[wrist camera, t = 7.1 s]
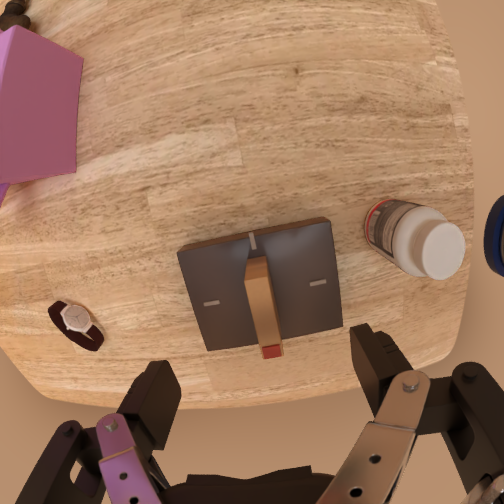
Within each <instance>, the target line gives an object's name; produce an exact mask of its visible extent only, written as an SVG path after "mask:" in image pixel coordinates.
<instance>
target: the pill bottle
mask: <svg viewBox="0 0 504 504" xmlns="http://www.w3.org/2000/svg"><path fill="white" fill-rule="evenodd" d="M364 228H365V236H366V239H367V241H368V243H369V245H370V246H371V247H372V248H373V249H374V250H375V251H376V252H378V253H379V254H381V255H382V256H384V257H385V258H386V259H388V260H389V261H391V262H392V263H394V264H395V265H396V266H398V267H399V268H400V269H401V270H403V271H404V272H406V273H408V274H410V275H412V276H416V277H425V276H428V277H430V278H432V279H435V280H445V279H447V278H449V277H451V276H452V275H453V274H454V273H455V272H456V271H457V270H458V269H459V267H460V265H461V263H462V261H463V258H464V255H465V239H464V236H463V233H462V231H461V230H460V229H459V227H457V226H456V225H455V224H453V223H450V222H448V221H447V220H446V218H445V217H444V216H443V215H442V214H441V213H440V212H439V211H437V210H436V209H434V208H431V207H428V206H424V205H419V204H415V203H410V202H406V201H401V200H396V199H385V200H382V201H380V202H378V203H376V204H375V205H374V206H373V207H372V208H371V210H370V211H369V212H368V214H367V217H366V220H365V227H364Z"/></svg>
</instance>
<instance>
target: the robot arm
mask: <svg viewBox="0 0 504 504" xmlns="http://www.w3.org/2000/svg"><path fill="white" fill-rule="evenodd" d="M499 256H500V260H501V262H502V264H503V266H504V220H503V223H502V226H501V230H500V235H499ZM350 342H351V355H352V362H353V366H354V369H355V372H356V374H357V377H358V379H359V381H360V384H361V386H362V388H363V391H364V393H365V395H366V398H367V400H368V403H369V405H370V408H371V410H372V413H373V415H374V418H375V419H374V421H373V422H372V421H369V422H368V423H367V424H366V426H365V427H364V429H363V431H362V433H361V435H360V437H359V438H358V440H357V442H356V444H355V445H354V447H353V449H352V450H351V452H350V454H349V455H348V457H347V459H346V460H345V462H344V463H343V465H342V466H341V468H340V469H339V471H338V473H337V474H336V476H334V475H329V474H323V473H312V470H311V466H310V465H309V466H303V467H297V468H290V469H283V470H278V471H275V472H271V473H268V474H265V475H262V476H258V477H255V478H251V479H237V478H231V477H225V476H220V475H191V474H188V476H187V480H186V482H185V483H180V484H177V485H174V486H170V485H169V483H168V481H167V480H166V478H165V476H164V475H163V473H162V471H161V469H160V467H159V466H158V464H157V462H156V460H155V458H154V457H153V456H152V451H153V450H164V447H165V444H166V441H167V438H168V435H169V432H170V429H171V426H172V423H173V420H174V417H175V414H176V411H177V408H178V405H179V402H180V399H181V388H180V385H179V383H178V381H177V379H176V376H175V374H174V372H173V370H172V368H171V366H170V364H169V362H168V361H167V360H160V361H151V362H150V363H149V364H148V366H147V368H146V370H145V372H142V373H141V374H140V375H139V376H138V377H137V378H136V379H135V380H134V382H133V383H132V385H131V388H130V389H129V390H128V392H127V393H128V394H126V396H125V398H124V399H123V401H122V403H121V405H120V407H119V408H118V410H117V412H116V413H112V414H108V415H106V416H104V417H103V418H102V419H100V420H99V422H98V423H97V425H96V427H91V428H85V429H83V427H82V426H81V425H80V424H79V422H77V421H75V420H70V421H67V422H64V423H63V424H61V425H60V426H59V427H58V428H57V430H56V432H55V433H54V435H53V437H52V438H51V440H50V442H49V443H48V445H47V447H46V448H45V450H44V452H43V453H42V455H41V457H40V459H39V460H38V462H37V464H36V465H35V467H34V469H33V471H32V473H31V474H30V476H29V478H28V480H27V482H26V483H25V485H24V487H23V489H22V491H21V493H20V495H19V497H18V499H17V501H16V503H15V504H101V502H102V499H103V497H104V494H105V491H106V489H107V492H108V495H109V498H110V500H111V503H112V504H389V503H390V501H391V499H392V497H393V495H394V494H395V491H396V489H397V487H398V485H399V483H400V480H401V478H402V475H403V473H404V471H405V468H406V466H407V463H408V461H409V459H410V456H411V454H412V451H413V448H414V446H415V444H416V440H417V438H418V435H425V434H432V433H439V432H441V434H442V437H443V439H444V441H445V443H446V445H447V447H448V450H449V452H450V454H451V456H452V459H453V461H454V463H455V465H456V468H457V470H458V473H459V475H460V478H461V480H462V483H463V485H464V488H465V490H466V493H467V496H466V498H465V499H464V500H463V501H462V502H461V504H504V391H503V390H502V389H501V387H500V386H499V385H498V383H497V382H496V381H495V380H494V378H493V377H492V376H491V375H490V373H489V372H488V371H487V370H486V369H485V367H484V366H482V365H481V364H479V363H476V362H465V363H461V364H459V365H458V366H457V367H456V368H455V369H454V370H453V373H452V376H450V377H443V378H436V379H432V378H429V377H428V376H427V375H426V374H425V373H423V372H421V371H417V370H414V369H413V368H412V366H411V365H410V363H409V362H408V361H407V359H406V358H405V356H404V355H403V353H402V352H401V351H400V350H399V348H398V346H397V345H396V344H395V342H394V341H393V339H392V338H391V336H390V335H388V334H386V333H384V332H382V331H378V332H375V333H374V332H373V331H372V329H371V328H370V326H369V325H368V324H367V323H364V324H361V325H357V326H353V327H350ZM75 461H77V462H78V463H79V464H80V465H81V466H82V468H81V470H80V472H79V474H78V476H77V478H76V481H75V483H72V481H71V479H70V471H71V469H72V467H73V465H74V463H75Z"/></svg>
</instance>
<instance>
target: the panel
mask: <svg viewBox="0 0 504 504" xmlns="http://www.w3.org/2000/svg"><path fill="white" fill-rule="evenodd" d="M262 256H266V257H267V262H268V267H269V272H270V277H271V282H272V286H273V291H274V296H275V301H276V306H277V311H278V316H279V321H280V328H281V336H282V340H283V339H288V338H293V337H298V336H303V335H308V334H313V333H317V332H322V331H326V330H331V329H335V328H339V327H343V318H342V307H341V297H340V288H339V280H338V271H337V263H336V256H335V249H334V242H333V235H332V229H331V222H330V220H328V219H327V218H325V217H318V218H313V219H308V220H303V221H298V222H293V223H288V224H283V225H278V226H273V227H268V228H264V229H259V230H254V231H249V232H244V233H240V234H235V235H230V236H225V237H221V238H216V239H211V240H207V241H202V242H198V243H193V244H189V245H184V246H183V247H182V248H181V249H180V250H179V251H178V252H177V257H178V260H179V264H180V267H181V271H182V274H183V277H184V281H185V284H186V287H187V291H188V294H189V297H190V300H191V303H192V306H193V310H194V313H195V316H196V319H197V322H198V325H199V328H200V331H201V334H202V337H203V340H204V342H205V345H206V348H207V351H214V350H222V349H229V348H236V347H242V346H249V345H255V344H259V342H258V338H257V334H256V329H255V325H254V321H253V317H252V313H251V309H250V305H249V300H248V296H247V292H246V288H245V284H244V278H245V271H246V265H247V259H251V258H257V257H262Z"/></svg>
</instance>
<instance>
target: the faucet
mask: <svg viewBox="0 0 504 504" xmlns="http://www.w3.org/2000/svg"><path fill="white" fill-rule="evenodd" d="M25 7H26V6H25V0H12V1H9V2H8V3H7V4H6V6H5V10H4V12H3V14H2V15H1V16H0V29H1V30H2V31H4V32H5V31H6V30H8V29H9V28H11V27H12V26H15V25H19V26H21V27H23V28H25V29H27V30H29V27H30V25H31V22H30V18H29V17H28V16H26V15H20V14H21V13H22V12H23V11H24V10H25Z"/></svg>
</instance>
